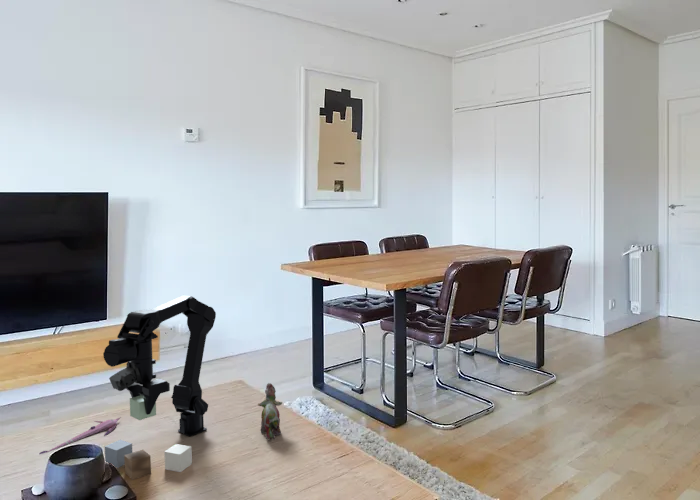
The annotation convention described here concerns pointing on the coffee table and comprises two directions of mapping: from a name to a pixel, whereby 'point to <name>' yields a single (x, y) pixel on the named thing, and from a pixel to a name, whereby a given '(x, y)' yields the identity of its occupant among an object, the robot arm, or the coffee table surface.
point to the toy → (91, 432)
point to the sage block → (140, 408)
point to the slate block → (117, 452)
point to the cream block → (178, 457)
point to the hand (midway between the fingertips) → (143, 411)
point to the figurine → (270, 413)
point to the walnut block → (137, 464)
